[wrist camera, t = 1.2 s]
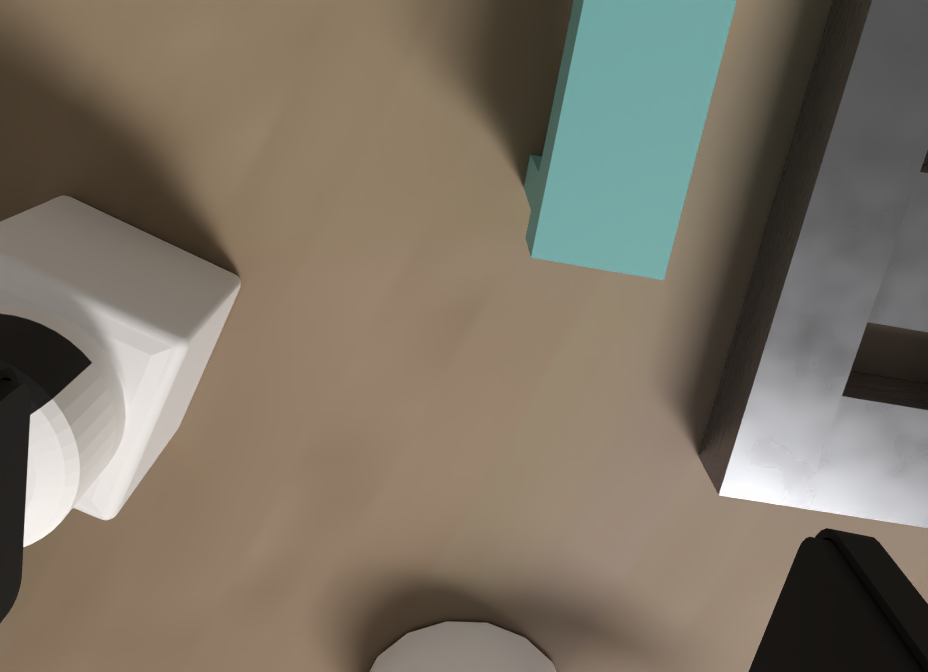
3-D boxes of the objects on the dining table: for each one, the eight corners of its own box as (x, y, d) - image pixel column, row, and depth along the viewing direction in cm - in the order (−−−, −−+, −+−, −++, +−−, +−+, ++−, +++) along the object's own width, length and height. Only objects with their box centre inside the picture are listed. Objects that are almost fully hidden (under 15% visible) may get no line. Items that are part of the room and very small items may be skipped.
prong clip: (518, 212, 32) (530, 257, 26) (584, -122, 28) (617, -162, 22) (626, 230, 32) (663, 280, 26) (705, -99, 28) (771, -132, 22)
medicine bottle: (4, 354, 34) (-228, 521, 23) (62, 189, 32) (-163, 283, 20) (178, 430, 35) (39, 626, 24) (246, 276, 33) (129, 411, 21)
